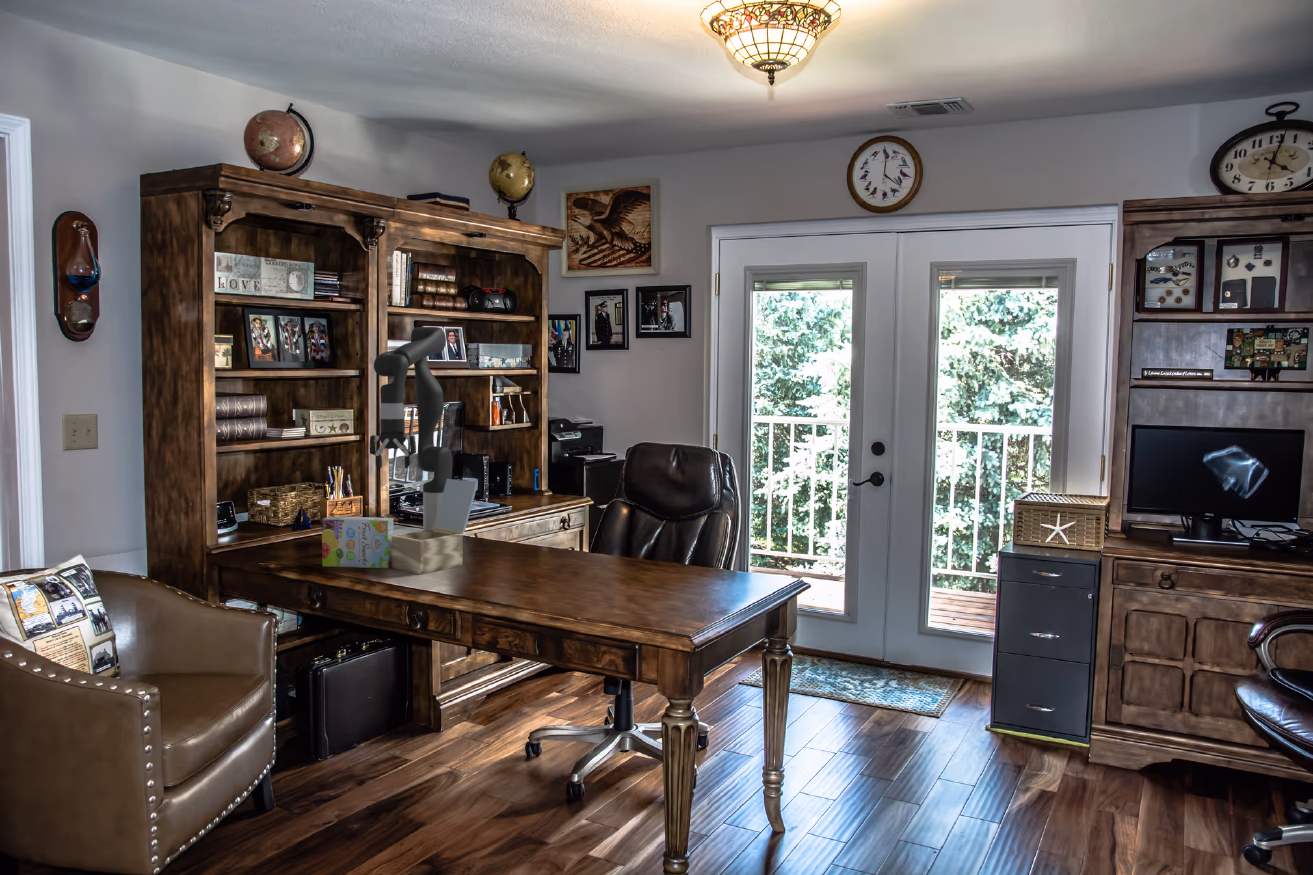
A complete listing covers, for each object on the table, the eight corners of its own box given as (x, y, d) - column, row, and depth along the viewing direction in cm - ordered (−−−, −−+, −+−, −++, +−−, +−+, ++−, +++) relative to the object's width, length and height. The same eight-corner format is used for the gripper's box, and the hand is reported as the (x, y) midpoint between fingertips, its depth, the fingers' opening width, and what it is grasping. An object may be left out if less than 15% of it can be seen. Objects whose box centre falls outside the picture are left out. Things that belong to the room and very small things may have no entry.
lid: (431, 528, 299) (434, 529, 299) (460, 534, 290) (463, 535, 291) (445, 478, 302) (448, 479, 303) (475, 482, 293) (477, 483, 294)
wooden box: (433, 559, 300) (433, 528, 299) (462, 565, 291) (462, 534, 290) (391, 567, 287) (391, 535, 286) (420, 574, 279) (420, 541, 278)
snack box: (394, 565, 291) (394, 517, 290) (387, 569, 286) (387, 520, 284) (329, 563, 293) (328, 515, 292) (321, 566, 288) (320, 518, 286)
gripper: (417, 416, 302) (418, 466, 304) (373, 416, 302) (374, 466, 303) (411, 418, 295) (412, 469, 296) (366, 417, 294) (367, 469, 296)
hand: (393, 467), depth 300 cm, fingers open, 8 cm apart
